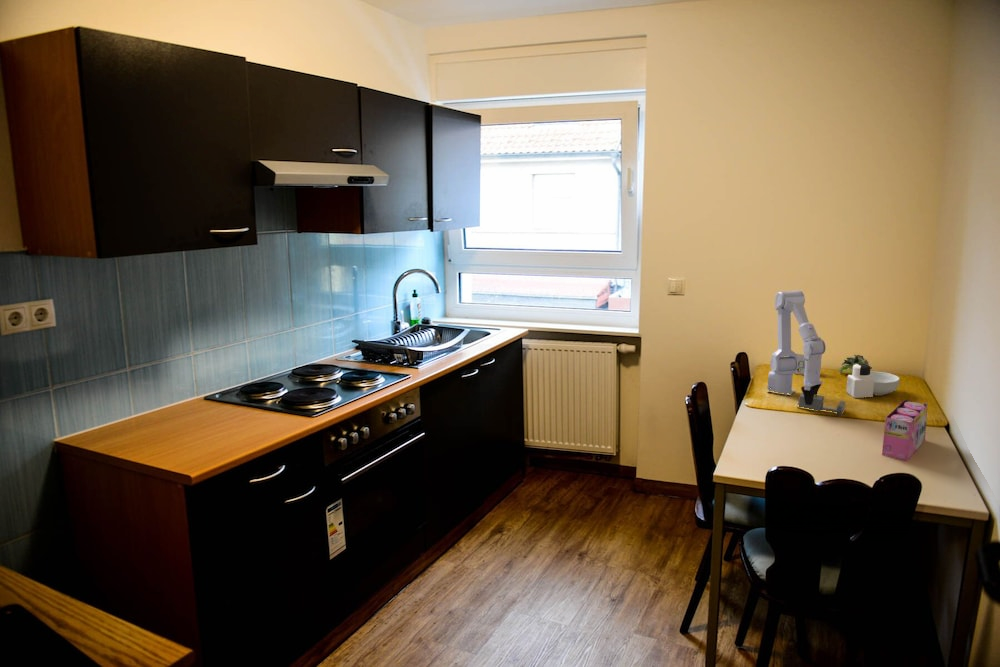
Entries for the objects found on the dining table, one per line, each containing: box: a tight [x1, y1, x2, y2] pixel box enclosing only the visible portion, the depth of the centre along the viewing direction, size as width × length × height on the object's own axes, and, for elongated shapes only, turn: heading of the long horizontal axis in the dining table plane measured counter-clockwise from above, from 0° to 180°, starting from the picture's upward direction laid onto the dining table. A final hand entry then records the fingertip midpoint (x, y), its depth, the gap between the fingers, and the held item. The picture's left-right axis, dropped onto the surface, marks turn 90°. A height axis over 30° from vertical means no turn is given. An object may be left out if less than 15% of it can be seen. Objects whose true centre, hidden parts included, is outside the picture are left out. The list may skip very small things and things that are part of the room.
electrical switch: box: [793, 353, 805, 376], centre depth 327 cm, size 9×5×9 cm, turn 53°
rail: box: [797, 400, 846, 417], centre depth 281 cm, size 16×7×4 cm, turn 54°
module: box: [798, 392, 825, 412], centre depth 283 cm, size 8×5×6 cm, turn 54°
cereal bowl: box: [869, 370, 900, 396], centre depth 299 cm, size 17×17×7 cm
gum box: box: [881, 399, 929, 461], centre depth 243 cm, size 24×8×14 cm, turn 137°
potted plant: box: [838, 354, 872, 374], centre depth 323 cm, size 11×11×12 cm
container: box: [845, 364, 874, 399], centre depth 295 cm, size 8×8×13 cm
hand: (810, 402), depth 283 cm, fingers closed on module, 5 cm apart
